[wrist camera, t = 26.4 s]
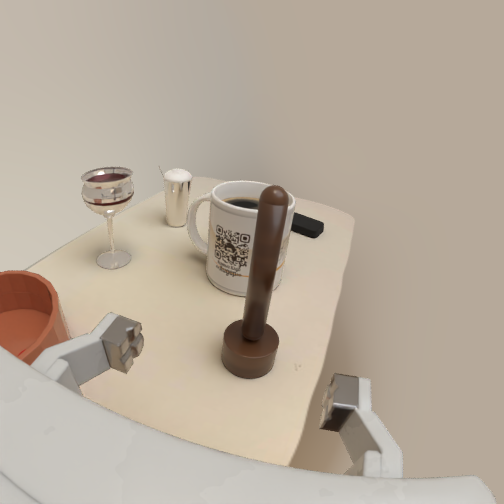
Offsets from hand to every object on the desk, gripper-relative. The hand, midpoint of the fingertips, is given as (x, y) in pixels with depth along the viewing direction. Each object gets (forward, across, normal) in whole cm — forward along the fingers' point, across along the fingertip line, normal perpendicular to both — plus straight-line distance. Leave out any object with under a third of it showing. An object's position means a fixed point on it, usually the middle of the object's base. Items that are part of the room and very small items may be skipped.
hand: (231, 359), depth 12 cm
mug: (+26, +6, +14) cm, 31 cm away
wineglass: (+22, +22, +14) cm, 34 cm away
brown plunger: (+12, +1, +14) cm, 18 cm away
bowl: (+2, +23, +14) cm, 27 cm away
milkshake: (+36, +19, +14) cm, 43 cm away
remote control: (+45, +3, +14) cm, 47 cm away
